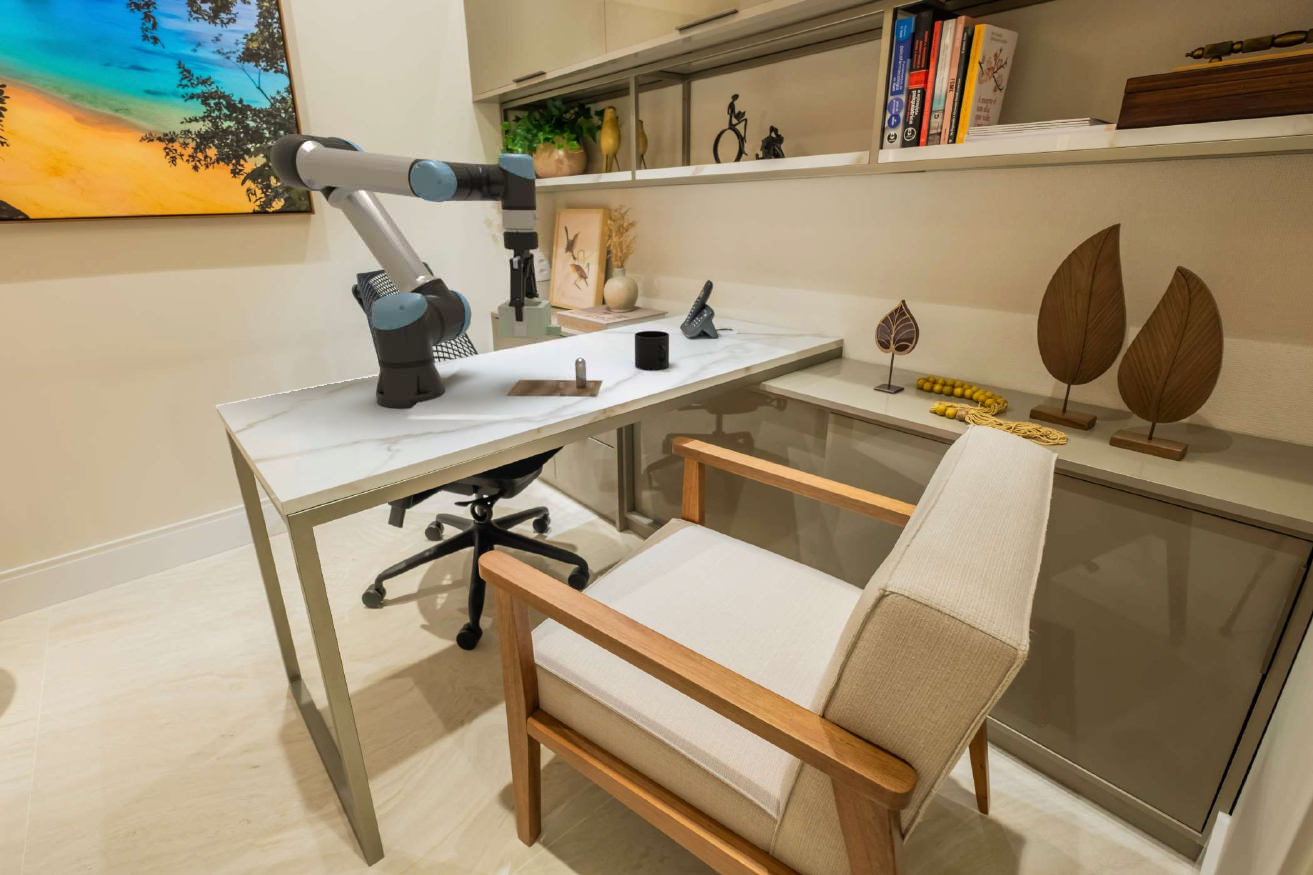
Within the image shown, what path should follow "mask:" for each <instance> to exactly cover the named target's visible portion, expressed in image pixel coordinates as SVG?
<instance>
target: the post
mask: <svg viewBox="0 0 1313 875" xmlns="http://www.w3.org/2000/svg"><path fill="white" fill-rule="evenodd" d="M574 365H575V366H574V369H575V371H574V372H575V380H576V388H578V389H585V388H587V383H586V380H587V362H586V360H585V358H583V357H578V358H576V359H575V362H574Z"/></svg>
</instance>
